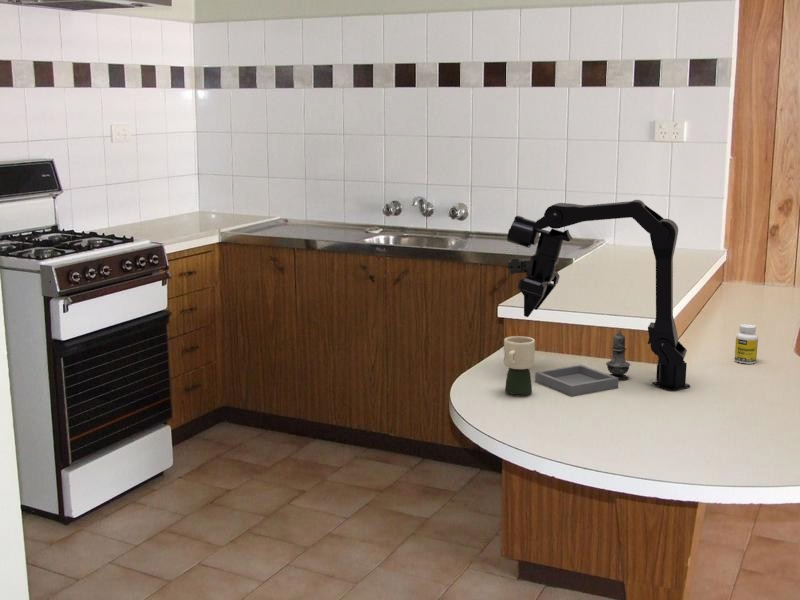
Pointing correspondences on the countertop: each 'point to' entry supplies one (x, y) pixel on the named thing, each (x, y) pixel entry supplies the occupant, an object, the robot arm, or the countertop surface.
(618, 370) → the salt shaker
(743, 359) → the supplement bottle
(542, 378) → the charcoal tray
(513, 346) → the character mug
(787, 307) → the countertop surface
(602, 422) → the countertop surface
